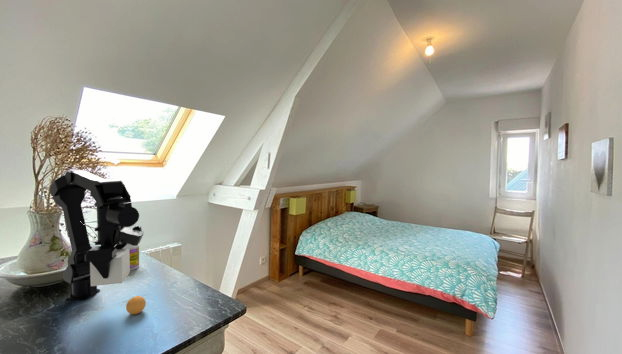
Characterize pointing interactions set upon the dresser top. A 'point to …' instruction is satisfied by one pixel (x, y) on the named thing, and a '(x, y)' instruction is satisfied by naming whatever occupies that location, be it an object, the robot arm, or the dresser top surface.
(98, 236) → the robot arm
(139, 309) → the ball
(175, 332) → the dresser top surface
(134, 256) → the supplement bottle
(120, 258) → the white cube
